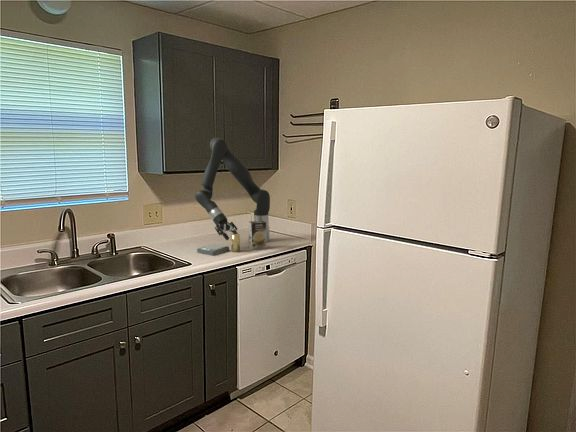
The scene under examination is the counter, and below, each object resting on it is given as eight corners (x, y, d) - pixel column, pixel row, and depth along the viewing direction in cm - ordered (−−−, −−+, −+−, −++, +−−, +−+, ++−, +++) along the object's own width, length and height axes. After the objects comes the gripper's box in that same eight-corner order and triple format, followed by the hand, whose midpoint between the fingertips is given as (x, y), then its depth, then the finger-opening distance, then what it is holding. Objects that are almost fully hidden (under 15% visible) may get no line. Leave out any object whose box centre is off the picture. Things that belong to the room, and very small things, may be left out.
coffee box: (251, 250, 257) (251, 223, 255) (248, 247, 263) (248, 221, 261) (266, 248, 261) (266, 222, 258) (263, 246, 267) (263, 220, 264)
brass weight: (235, 249, 258) (234, 233, 256) (241, 251, 255) (241, 234, 254) (229, 251, 254) (229, 234, 252) (236, 252, 251) (235, 235, 250)
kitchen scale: (214, 248, 263) (214, 243, 262) (229, 250, 256) (229, 245, 255) (197, 252, 251) (197, 247, 251) (212, 255, 244) (212, 250, 244)
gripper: (212, 214, 251) (228, 236, 247) (229, 211, 263) (244, 232, 258) (206, 222, 255) (221, 244, 250) (222, 219, 267) (237, 240, 262)
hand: (233, 238), depth 254 cm, fingers open, 8 cm apart
